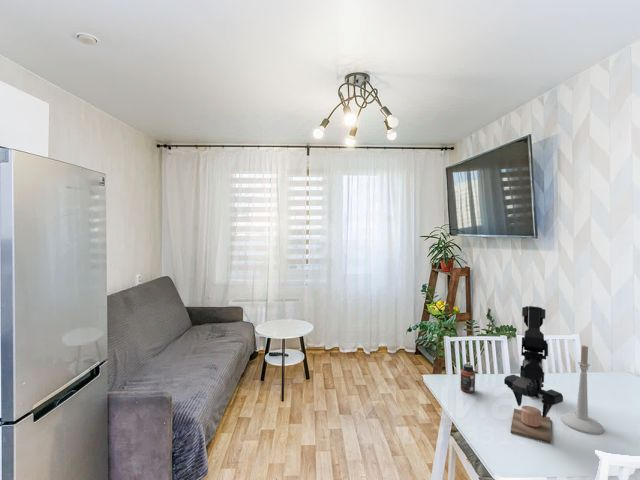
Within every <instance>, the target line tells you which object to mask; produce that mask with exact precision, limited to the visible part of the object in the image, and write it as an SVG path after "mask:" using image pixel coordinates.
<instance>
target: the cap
mask: <svg viewBox="0 0 640 480" xmlns="http://www.w3.org/2000/svg"><path fill="white" fill-rule="evenodd" d="M520 410H521V421H522V422H523V423H525V424H527V425H529V426H533V427H539V426H541V415H542V411H541V410H540V409H539V408H537V407H535V406H532V405H531V406H530V405H521V409H520Z"/></svg>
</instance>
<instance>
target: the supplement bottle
mask: <svg viewBox="0 0 640 480" xmlns="http://www.w3.org/2000/svg"><path fill="white" fill-rule="evenodd" d="M460 390H461V391H463V392H465V393H467V394H468V393H471V394H472V393H474V392H475V390H476V371H475V370H474V365H473V364H471V363H464V364H463V367H462V369H461V371H460Z"/></svg>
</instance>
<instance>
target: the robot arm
mask: <svg viewBox="0 0 640 480" xmlns="http://www.w3.org/2000/svg"><path fill="white" fill-rule="evenodd" d="M521 310H522V311H521V317H523V323H524V325H525V326H526V327H527V329H526V330H525V331H524V333H523V335H524V336H522V337H521V351H520V353H521V354H520V355H521V356H523V360H522V365H520V371H519V372H520V375H519V376H518V375H516V374H509V375H506V376H505V377H504V378H503V379H504V381H503V382H504V384H505V386H507V388H509V389H510V391H512V393H513V396H514V398H515V401H516V403H517V406H518V407H520V406H521V407H522V402H523V396H525V397H526V396H529V397H532V398H536V399H540V395H541V398H542V400H541V403H542V412H541V415H543V418H545V417H546V416H548V413H549V412H550V410H551V409H552V407H553V406H555V405H558V404H560V403H562V402H563V401H564V396H563V394H562V393H561V392H559V391H557V390H554V389H551V388H550V389H548V390H545V389H543V388H544V385H545V384H544V383H545V372H544V369H543V368H544V367H543V360H547V357H549V343H548V342H547V341H548V340H545V335H544V333H543V332H542V331H541V327H542V326H543V325H544V320H545V319H546V309H544V308H543V307H539V306H531V305H525V306H523V307H522V309H521Z"/></svg>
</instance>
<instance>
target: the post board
mask: <svg viewBox="0 0 640 480" xmlns="http://www.w3.org/2000/svg"><path fill="white" fill-rule="evenodd" d="M521 410H522V409H518V408H513V414H512V419H511V425H510V434H514V435H518V436H522V437H524V438H529V439H531V438H532V440H536V441H538V440H539V442H543V443H546V444H549V443H551V442H552V440H551V439H552V438H551V437H552V436H551V435H552V434H551V417H550V416H548V415H546V417H545V418H543V414H541V426H539V427H533V426H529V425H527V424H525V423H523V422H522V421H521ZM551 444H552V443H551Z"/></svg>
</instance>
